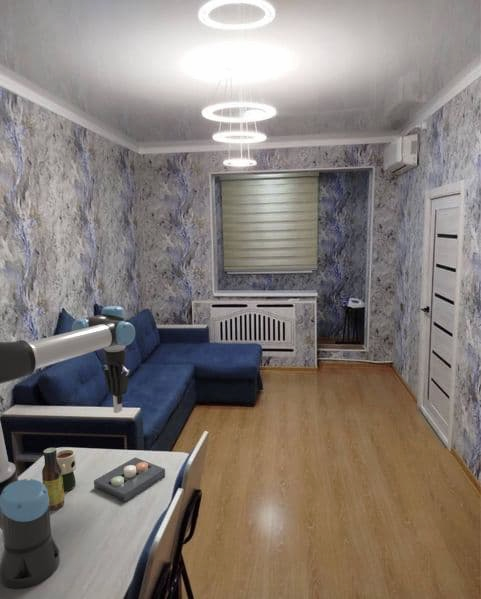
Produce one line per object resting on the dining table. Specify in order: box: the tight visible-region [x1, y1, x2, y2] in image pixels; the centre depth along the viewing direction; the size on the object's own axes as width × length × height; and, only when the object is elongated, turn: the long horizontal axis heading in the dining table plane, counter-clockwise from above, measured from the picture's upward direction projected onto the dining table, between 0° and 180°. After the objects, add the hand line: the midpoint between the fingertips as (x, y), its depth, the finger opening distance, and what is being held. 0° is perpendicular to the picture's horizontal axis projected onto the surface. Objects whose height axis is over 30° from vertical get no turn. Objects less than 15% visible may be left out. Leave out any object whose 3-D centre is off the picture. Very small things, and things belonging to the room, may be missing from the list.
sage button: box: [111, 476, 124, 487], centre depth 160 cm, size 4×4×4 cm
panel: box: [93, 456, 166, 503], centre depth 165 cm, size 20×16×3 cm
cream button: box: [124, 465, 136, 480], centre depth 165 cm, size 4×4×4 cm
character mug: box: [56, 448, 77, 491], centre depth 161 cm, size 11×7×13 cm, turn 15°
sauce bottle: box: [41, 447, 65, 511], centre depth 150 cm, size 6×6×20 cm
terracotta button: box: [136, 461, 148, 472], centre depth 170 cm, size 4×4×4 cm
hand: (118, 411), depth 164 cm, fingers closed
